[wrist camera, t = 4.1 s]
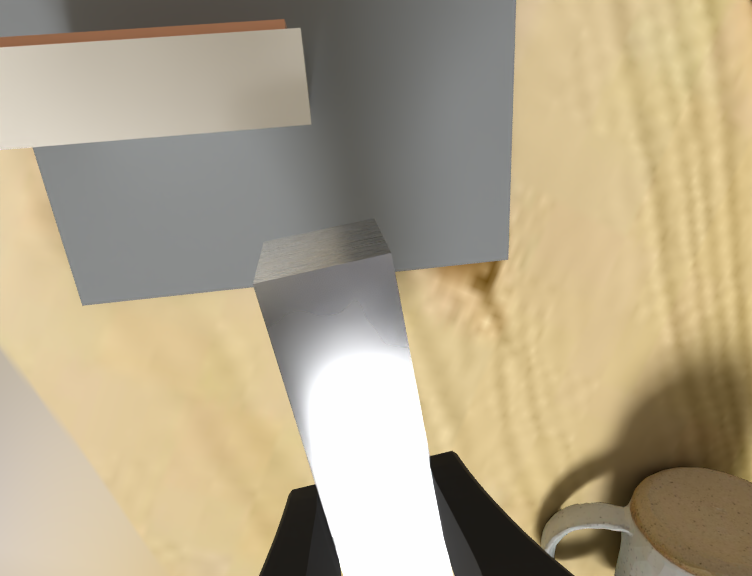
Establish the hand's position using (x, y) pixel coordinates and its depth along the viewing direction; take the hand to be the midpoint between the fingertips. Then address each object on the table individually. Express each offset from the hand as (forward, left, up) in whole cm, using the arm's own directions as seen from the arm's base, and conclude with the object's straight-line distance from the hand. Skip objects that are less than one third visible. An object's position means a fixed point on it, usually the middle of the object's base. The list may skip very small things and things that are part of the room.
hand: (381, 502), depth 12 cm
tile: (+4, -9, -9) cm, 14 cm away
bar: (0, 0, -2) cm, 2 cm away
